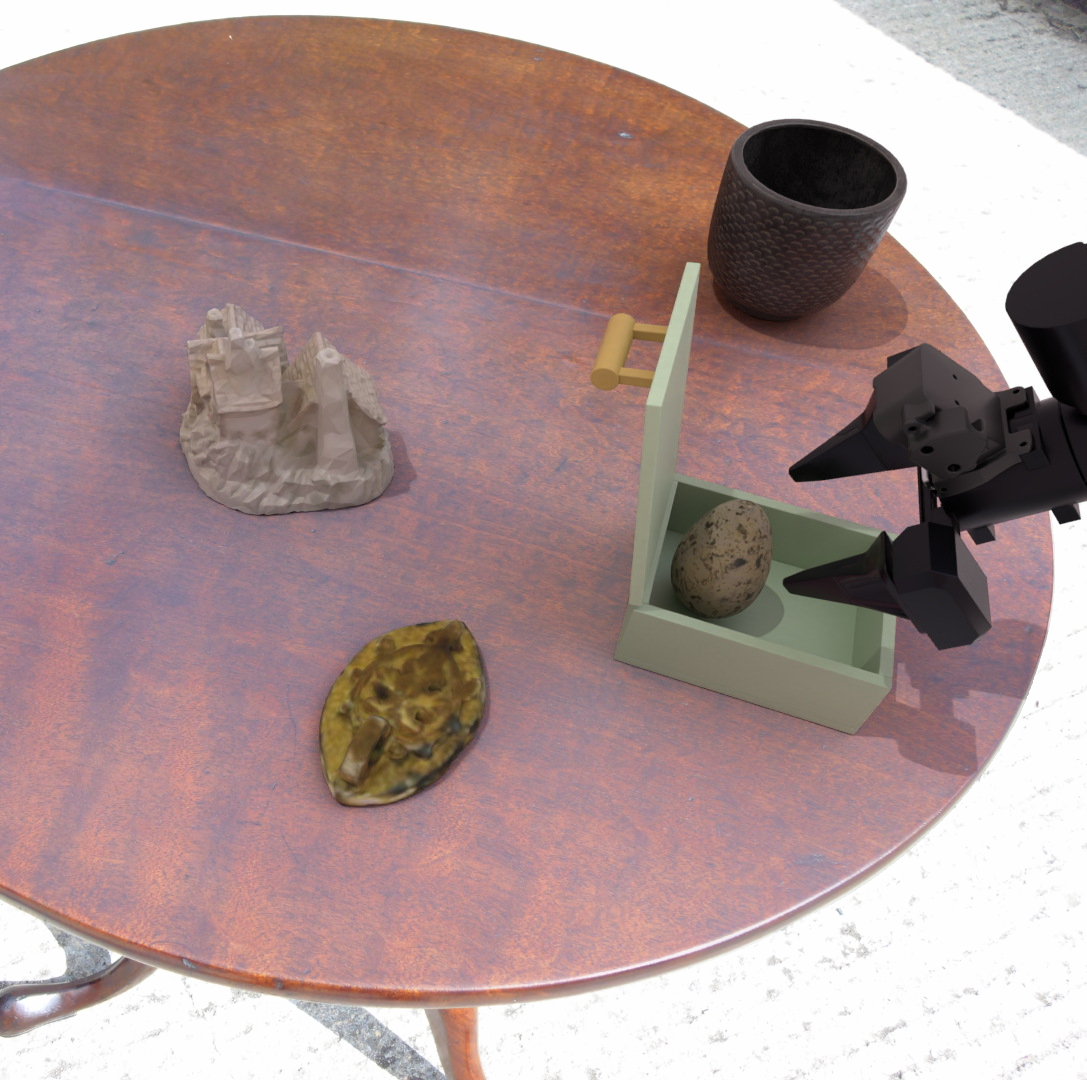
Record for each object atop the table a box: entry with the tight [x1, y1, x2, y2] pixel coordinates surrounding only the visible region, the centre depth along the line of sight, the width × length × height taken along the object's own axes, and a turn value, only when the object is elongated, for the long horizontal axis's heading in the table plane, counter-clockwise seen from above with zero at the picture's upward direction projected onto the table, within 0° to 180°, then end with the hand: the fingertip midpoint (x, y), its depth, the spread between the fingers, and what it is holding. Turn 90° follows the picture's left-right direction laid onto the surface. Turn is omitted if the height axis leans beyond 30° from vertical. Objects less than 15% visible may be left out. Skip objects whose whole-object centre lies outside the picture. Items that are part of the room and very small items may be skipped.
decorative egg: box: [671, 499, 773, 619], centre depth 69 cm, size 6×6×10 cm
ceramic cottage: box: [178, 302, 395, 516], centre depth 77 cm, size 16×16×15 cm
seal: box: [318, 618, 487, 807], centre depth 66 cm, size 9×5×15 cm
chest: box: [613, 471, 900, 736], centre depth 71 cm, size 16×13×6 cm
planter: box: [706, 118, 908, 322], centre depth 91 cm, size 14×14×13 cm
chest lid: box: [589, 261, 702, 606], centre depth 64 cm, size 16×13×4 cm
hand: (788, 528), depth 66 cm, fingers open, 9 cm apart
